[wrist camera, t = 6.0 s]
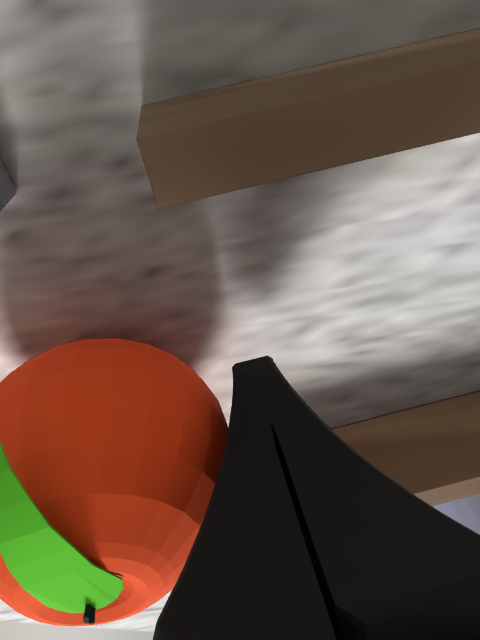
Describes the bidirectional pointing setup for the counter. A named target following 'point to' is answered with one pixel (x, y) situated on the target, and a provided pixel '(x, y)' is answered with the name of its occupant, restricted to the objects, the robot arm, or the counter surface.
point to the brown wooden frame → (326, 152)
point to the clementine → (102, 478)
